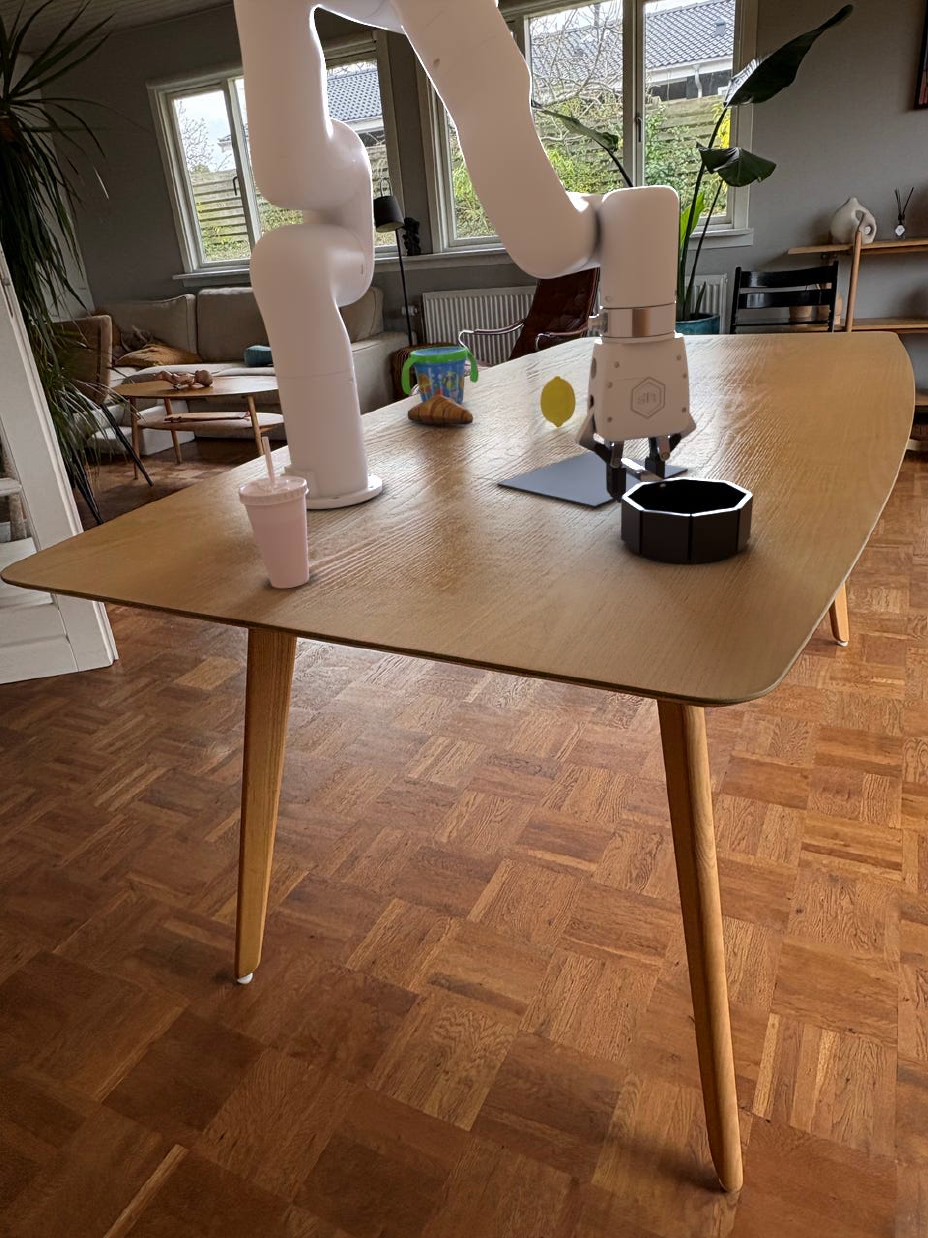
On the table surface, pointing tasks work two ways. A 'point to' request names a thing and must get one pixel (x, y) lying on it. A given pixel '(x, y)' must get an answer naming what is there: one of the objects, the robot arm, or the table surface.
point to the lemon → (557, 401)
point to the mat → (576, 480)
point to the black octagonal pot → (684, 518)
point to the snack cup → (440, 372)
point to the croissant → (440, 412)
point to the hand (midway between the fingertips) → (635, 494)
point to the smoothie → (279, 524)
